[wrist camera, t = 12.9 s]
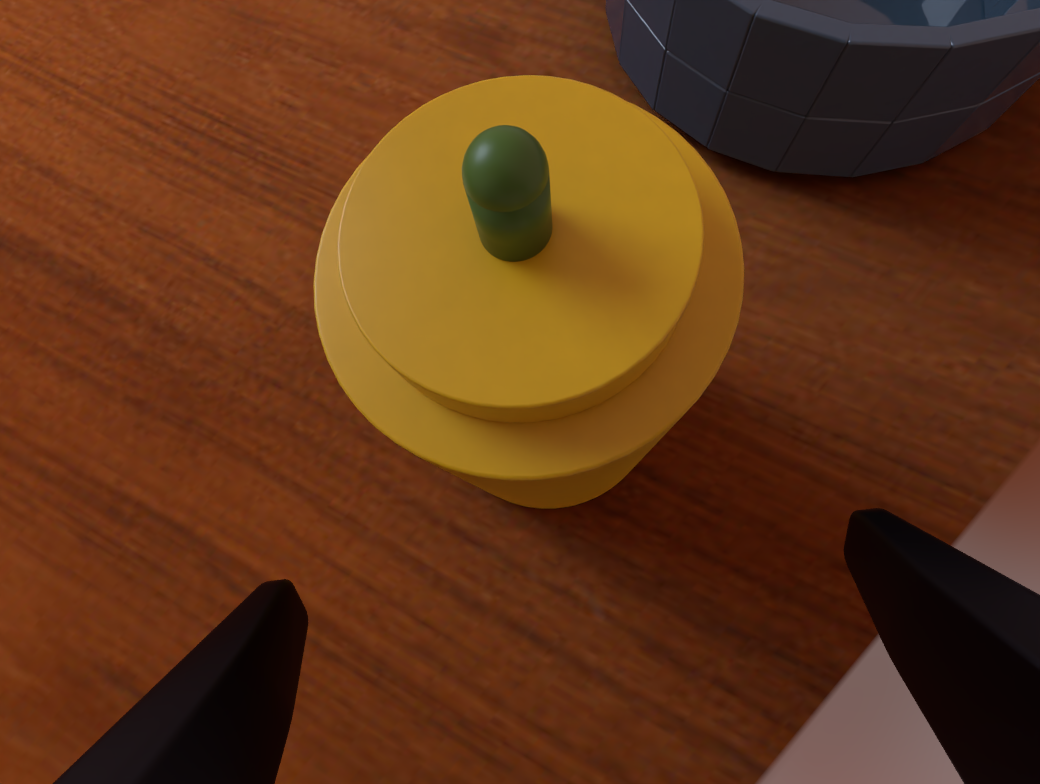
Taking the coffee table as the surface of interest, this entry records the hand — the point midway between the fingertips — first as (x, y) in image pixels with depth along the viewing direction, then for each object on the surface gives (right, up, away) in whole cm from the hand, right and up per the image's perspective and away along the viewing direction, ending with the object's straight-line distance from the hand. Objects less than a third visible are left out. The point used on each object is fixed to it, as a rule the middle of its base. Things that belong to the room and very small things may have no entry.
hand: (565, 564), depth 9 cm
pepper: (0, +3, +8) cm, 9 cm away
